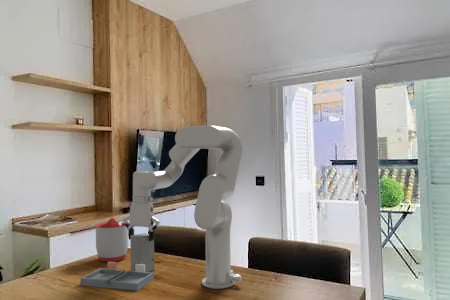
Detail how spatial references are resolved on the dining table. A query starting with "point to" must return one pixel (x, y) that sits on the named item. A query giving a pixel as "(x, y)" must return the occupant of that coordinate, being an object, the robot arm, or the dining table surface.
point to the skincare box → (142, 251)
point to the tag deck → (118, 277)
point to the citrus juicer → (111, 241)
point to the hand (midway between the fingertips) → (141, 239)
